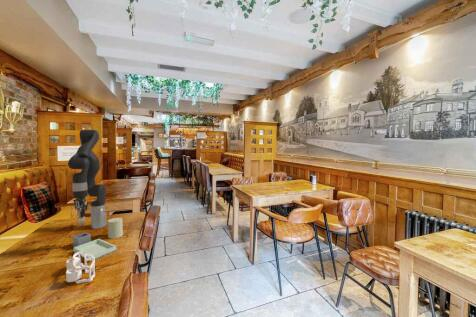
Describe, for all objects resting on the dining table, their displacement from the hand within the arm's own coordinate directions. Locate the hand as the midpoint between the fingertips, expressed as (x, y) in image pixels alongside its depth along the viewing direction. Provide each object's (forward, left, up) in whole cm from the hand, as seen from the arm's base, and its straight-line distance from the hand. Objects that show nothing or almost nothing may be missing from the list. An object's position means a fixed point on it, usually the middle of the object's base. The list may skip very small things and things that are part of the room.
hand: (81, 216), depth 131 cm
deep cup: (0, 0, -19) cm, 19 cm away
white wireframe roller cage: (+15, +33, -19) cm, 41 cm away
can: (-19, +4, -19) cm, 27 cm away
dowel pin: (0, 0, -6) cm, 6 cm away
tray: (0, +16, -19) cm, 25 cm away
